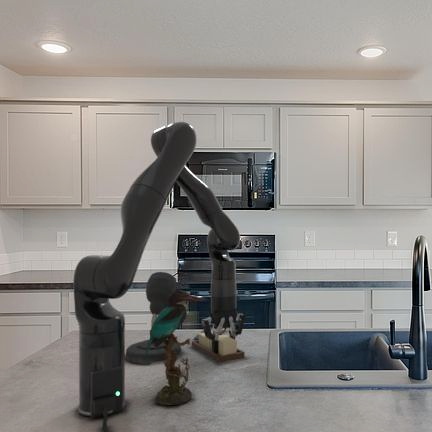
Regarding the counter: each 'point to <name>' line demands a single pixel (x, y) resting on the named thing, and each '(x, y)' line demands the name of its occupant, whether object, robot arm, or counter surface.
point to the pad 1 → (204, 341)
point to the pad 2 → (226, 345)
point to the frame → (216, 356)
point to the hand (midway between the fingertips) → (223, 350)
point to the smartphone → (211, 330)
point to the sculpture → (160, 333)
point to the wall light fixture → (158, 297)
